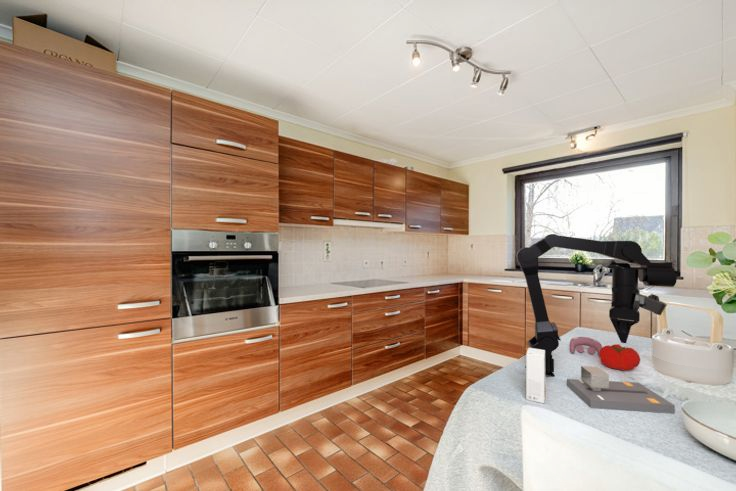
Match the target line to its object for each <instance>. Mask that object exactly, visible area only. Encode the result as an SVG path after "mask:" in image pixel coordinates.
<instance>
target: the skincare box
mask: <svg viewBox="0 0 736 491" xmlns="http://www.w3.org/2000/svg"><path fill="white" fill-rule="evenodd" d="M525 366H526V368H525V380H526V381H525V383H526V384H525V385H526V386H525V387H526V389H525V395H526V396H525V399H526V400H527V401H531V402H536V403H539V404H545V403H546V402H545V401H546V400H545V399H546V398H545V397H546V376H545V350H541V349H535V348H529V347H527V351H526V354H525Z"/></svg>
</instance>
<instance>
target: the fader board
mask: <svg viewBox="0 0 736 491" xmlns="http://www.w3.org/2000/svg"><path fill="white" fill-rule="evenodd" d="M566 386H567V387H568V388H569V389H570V391H572V392H573V393H574V394H575V395H576V396H577V397H579V399H580V400H582V402H584V404H586V405H587V406H588V407H589V408H590V409H600V410H601V409H603V410H615V411H616V410H617V411H627V412H628V411H630V412H644V413H646V412H647V413H660V414H661V413H662V414H673V415H674V414H675V412H676V410H675V409H676V406H675V404H673V403H672V402H670V401H669V400H667V399H665V398H664V397H663V396H661V395H659V394H658V393H656V392H654V391H653V390H652V389H650V388H649V387H647V386H645V385H643V384H642V383H639V382H632V381H616V380H615V381H612V380H609V388H601V391H592V390H591V389H590V388H589V387H588V384H587V383H586V382H584V381H583V380H582V379H575V378H566Z"/></svg>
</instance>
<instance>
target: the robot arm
mask: <svg viewBox="0 0 736 491" xmlns="http://www.w3.org/2000/svg"><path fill="white" fill-rule="evenodd" d="M553 248H559V249H560V248H562V249H566V250H567V249H568V250H574V251H581V252H586V253H587V252H588V253H594V254H597V255H601V256H603V257H604V256H605V257H608V258H611V259H610V260H609V261H608V262H607V263H605V264H604V265H603V268H606V269H611V270H612V273H611V274H612V275H611V276H612V277H611V306H610V308H609V314H608V317H609V320H610V323H611V324H612V326H613V328H614V330H615V332H616V335H617V336H618V339H619V341H620V343H621V344H627V341H628V339H629V335H630V331H631V328H632V326H634V325H637V324H638V323H639V322H640V315H641V314H640V311H639V310H640V308H641V309H644V310H646V311H649V312H652V313H653V314H655V315H657V316H658V315H659V316H661V315H662V314H663V313H664V310H665V309H666V306H667V303H665V302H663V301H660V297H659V296H658V295H656V294H653V293H651V294H650V295H648V296H647V295H644V294H641V293H640V292H641V291H640V289H639V282H640V283H643V285H644V286H645V287H646V286H648V287H663V288H664V287H665V288H673V287H675V286H676V284H677V278H678V276H677V275H678V274H676V270H675V268H674V266H673V262H670V261H661V262H657V261H656V262H653V261H652V262H651V260H649V259H648V257H647V256H646V255H645V254H644V253H643V250H642V246H641V245H640V244H639V243H638V242H636V241H633V240H595V239H590V238H589V239H588V238H581V237H572V236H565V235H564V236H563V235H558V234H555V233H549V234H547V235H545V237H544V238H542V239H540V240H538V241H537V242H535V243H533V244H532V245H530V246H529V247H525V246H524V247H521V248H520V249H518V251H517V252H516V256H515V257H516V260H517V263H518V264H519V267H520V269H521V271H522V273H523V276H524V278H525V282H526V285H527V286H526V287H527V290H528V294H529V295H528V296H529V300H530V303H531V307H532V312H533V315H534V316H533V317H534V336H532V337H531V338H530V339H529V340H528V341H527V344H528V348H535V349H541V350H545V377H555V373H554V372H555V359H554V358H553V353H552V352H554V351H556V350H557V349H558V347H559V345H560V343H559V341H561V340H562V339H561V338H560V336H559V330H558V325H557V324H556V323H555V322H554V321H553V322H551V321H550V320H549V315H548V311H547V307H546V302H545V298H544V294H543V290H542V286H541V282H540V278H539V258H540V257H541V256H543V255H545V253H547V252H549V251H551V249H553ZM615 260H618V261H622V262H616V261H615ZM630 264H631V265H638V266H631V265H630ZM524 367H525V369H526V365H525V366H524Z"/></svg>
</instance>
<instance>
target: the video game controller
mask: <svg viewBox="0 0 736 491" xmlns="http://www.w3.org/2000/svg"><path fill="white" fill-rule="evenodd" d="M583 346H586V347H588V348H587V353H588V354H589V355H594V354H595V353H596V352H597V355H598V357H599V358H600V356H599V352H600V350H601V348H602V347H603V346H602V343H601V342H600V341H598V340H597V339H593V338H591V337H586V336H576V337H573V338H571V339H570V341H569V351H570V353H571V354H572V355H574V353H575V350H576V351H577V352H578V353H580V354H581V353H584V351H585V348H584V347H583Z"/></svg>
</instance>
